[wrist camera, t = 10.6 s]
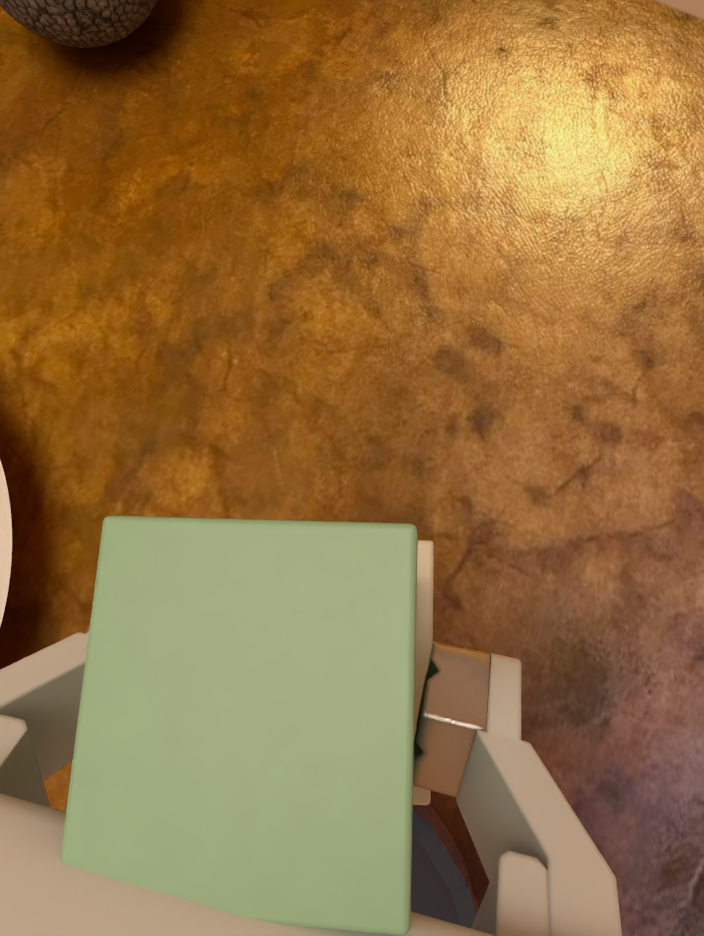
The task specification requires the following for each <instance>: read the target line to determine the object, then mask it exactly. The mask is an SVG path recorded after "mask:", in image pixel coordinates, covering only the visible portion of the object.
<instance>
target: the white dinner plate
mask: <svg viewBox="0 0 704 936" xmlns="http://www.w3.org/2000/svg"><path fill="white" fill-rule="evenodd" d="M11 561H12V520H11V509H10V501H9V494H8V488H7V483H6V479H5V474H4V471H3V467H2V463H1V460H0V626H1V622H2V619H3V614H4V610H5V605H6V600H7V594H8V588H9V581H10V573H11Z"/></svg>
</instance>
